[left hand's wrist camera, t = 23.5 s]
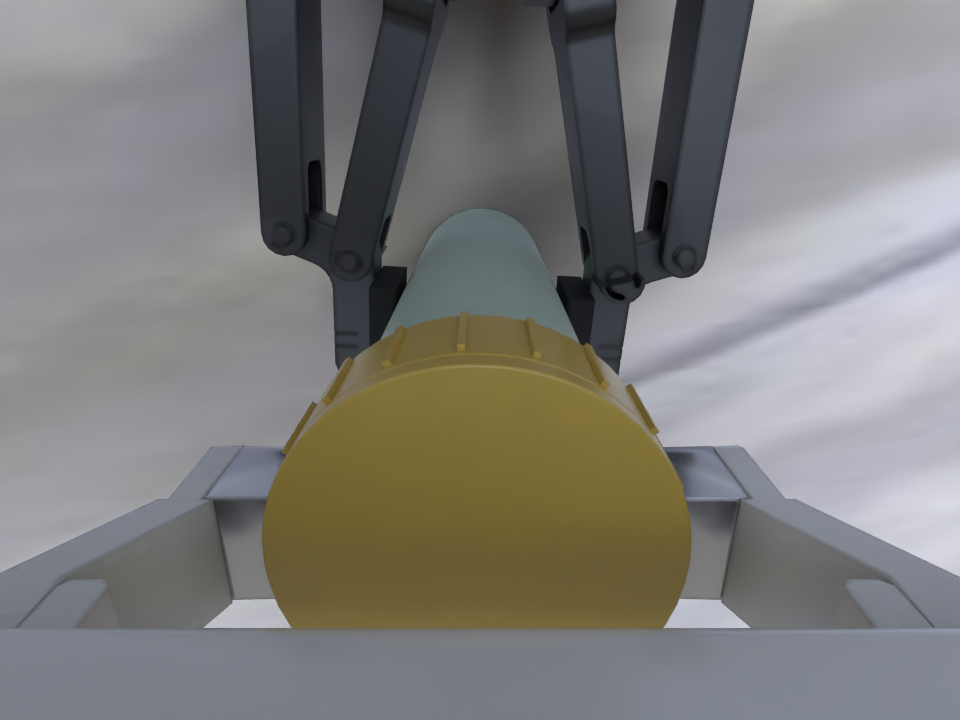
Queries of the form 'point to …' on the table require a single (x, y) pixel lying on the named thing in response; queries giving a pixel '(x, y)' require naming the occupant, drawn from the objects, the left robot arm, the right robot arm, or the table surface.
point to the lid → (476, 489)
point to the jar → (481, 275)
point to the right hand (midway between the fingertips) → (471, 465)
